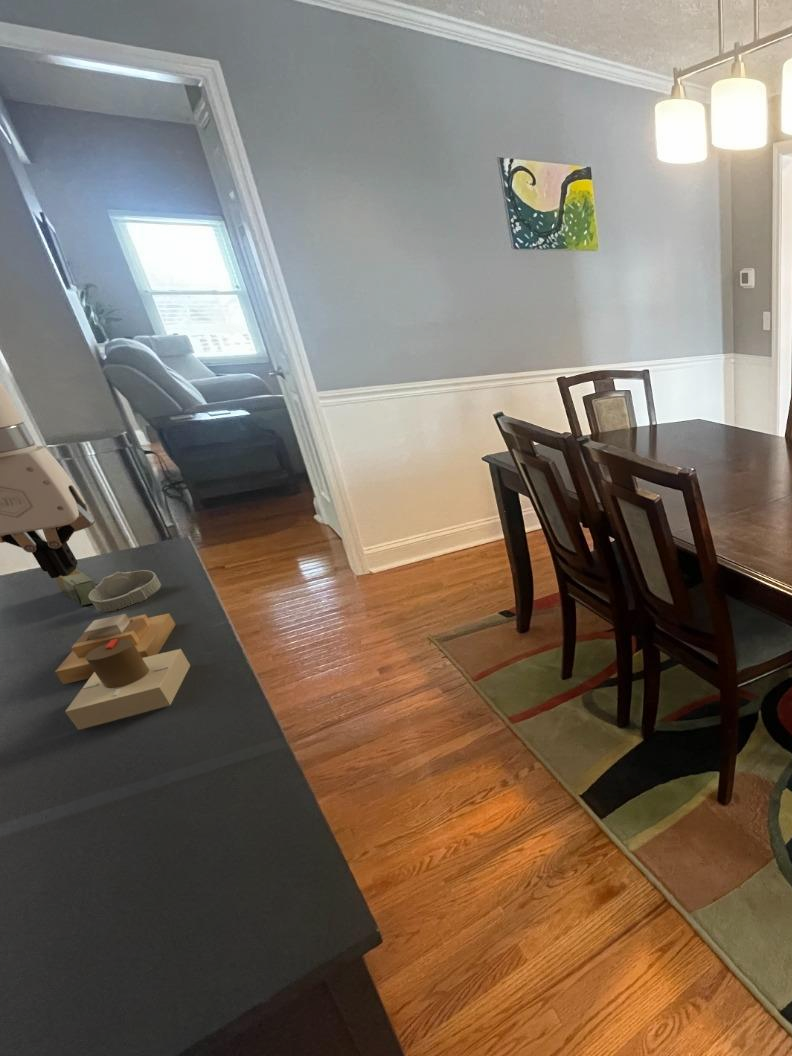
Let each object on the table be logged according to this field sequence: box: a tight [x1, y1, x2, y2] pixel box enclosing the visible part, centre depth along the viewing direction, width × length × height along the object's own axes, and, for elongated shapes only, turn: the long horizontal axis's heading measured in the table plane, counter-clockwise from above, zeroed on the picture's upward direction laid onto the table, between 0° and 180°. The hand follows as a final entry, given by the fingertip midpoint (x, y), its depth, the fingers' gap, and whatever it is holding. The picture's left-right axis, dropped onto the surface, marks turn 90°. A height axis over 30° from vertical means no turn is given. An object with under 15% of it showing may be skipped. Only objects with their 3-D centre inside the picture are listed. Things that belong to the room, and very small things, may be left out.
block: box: [54, 612, 177, 685], centre depth 88 cm, size 10×12×4 cm
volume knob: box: [85, 639, 149, 688], centre depth 77 cm, size 4×4×5 cm
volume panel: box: [64, 648, 191, 731], centre depth 79 cm, size 9×10×3 cm
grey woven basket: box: [88, 569, 162, 613], centre depth 103 cm, size 9×6×5 cm
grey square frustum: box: [83, 613, 131, 640], centre depth 87 cm, size 4×4×2 cm
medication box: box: [54, 568, 97, 607], centre depth 105 cm, size 12×3×4 cm, turn 60°
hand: (64, 573), depth 82 cm, fingers closed
